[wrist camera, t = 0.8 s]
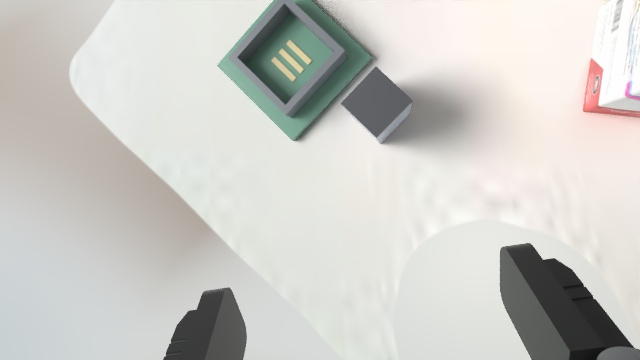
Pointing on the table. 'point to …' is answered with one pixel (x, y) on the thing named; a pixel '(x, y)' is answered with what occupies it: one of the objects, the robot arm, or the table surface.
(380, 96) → the block
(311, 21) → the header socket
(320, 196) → the table surface
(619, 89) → the ink cartridge box
